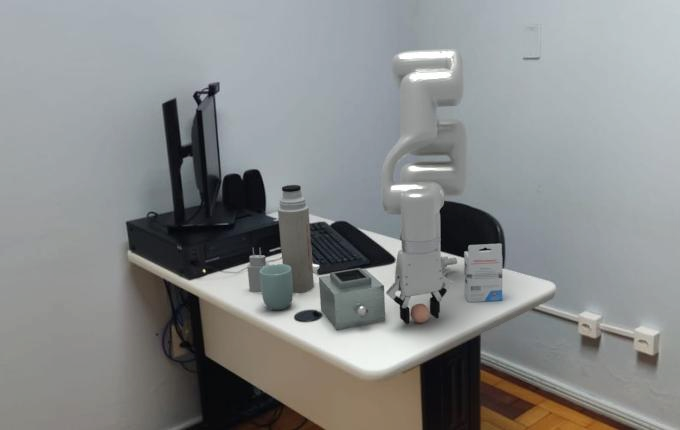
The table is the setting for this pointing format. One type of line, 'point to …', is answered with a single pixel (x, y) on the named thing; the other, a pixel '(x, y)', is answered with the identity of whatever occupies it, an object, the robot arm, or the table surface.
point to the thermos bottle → (296, 238)
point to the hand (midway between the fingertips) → (420, 318)
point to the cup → (276, 286)
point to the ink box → (483, 273)
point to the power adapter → (255, 271)
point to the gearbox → (352, 298)
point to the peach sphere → (420, 313)
